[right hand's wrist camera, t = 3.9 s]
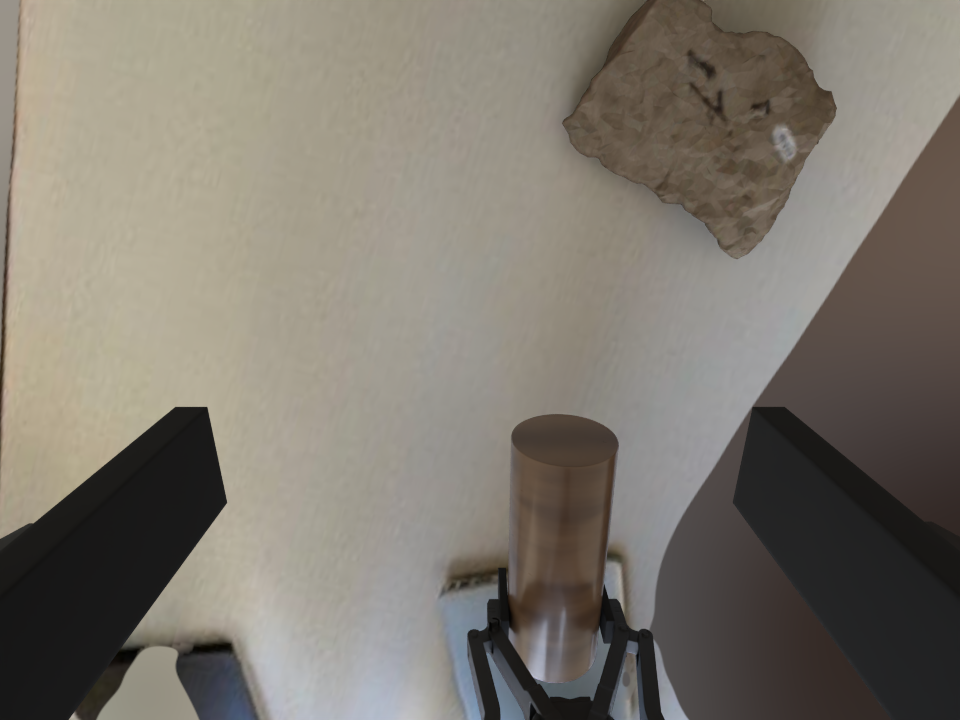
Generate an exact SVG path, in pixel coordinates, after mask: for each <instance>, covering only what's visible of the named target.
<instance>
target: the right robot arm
mask: <svg viewBox="0 0 960 720" xmlns="http://www.w3.org/2000/svg"><path fill="white" fill-rule="evenodd" d="M226 504H227V500H226V495H225V490H224V485H223V480H222V476H221V471H220V466H219V461H218V456H217V451H216V447H215V442H214V437H213V432H212V427H211V423H210V418H209V413H208V408H207V407H175V408H174V409H172V410H171V411H170V412H169V413H168V414H166V415H165V416H164V417H163V418H161V419H160V420H159V421H158V422H157V423H155V424H154V425H153V426H152V427H150V428H149V429H148V430H147V431H146V432H144V433H143V434H142V435H141V436H140V437H138V438H137V439H136V440H135V441H133V442H132V443H131V444H130V445H129V446H127V447H126V448H125V449H124V450H122V451H121V452H120V453H119V454H118V455H116V456H115V457H114V458H113V459H112V460H110V461H109V462H108V463H107V464H105V465H104V466H103V467H102V468H101V469H99V470H98V471H97V472H96V473H94V474H93V475H92V476H91V477H90V478H88V479H87V480H86V481H85V482H84V483H82V484H81V485H80V486H79V487H77V488H76V489H75V490H74V491H73V492H71V493H70V494H69V495H68V496H67V497H65V498H64V499H63V500H62V501H60V502H59V503H58V504H57V505H56V506H54V507H53V508H52V509H51V510H49V511H48V512H47V513H46V514H45V515H43V516H42V517H41V518H40V519H39V520H37V521H36V522H35V523H29V524H27V525H25V526H24V527H22V528H20V529H18V530H16V531H14V532H12V533H11V534H9V535H7V536H5V537H3V538H1V539H0V720H69V718H70V717H71V716H72V714H73V713H74V711H75V710H76V709H77V707H78V706H79V705H80V703H81V702H82V701H83V699H84V698H85V696H86V695H87V694H88V692H89V691H90V690H91V688H92V687H93V685H94V684H95V683H96V681H97V680H98V679H99V677H100V676H101V675H102V673H103V672H104V670H105V669H106V668H107V666H108V665H109V664H110V662H111V661H112V659H113V658H114V657H115V655H116V654H117V653H118V651H119V650H120V649H121V647H122V646H123V644H124V643H125V642H126V640H127V639H128V638H129V636H130V635H131V633H132V632H133V631H134V629H135V628H136V627H137V625H138V624H139V623H140V621H141V620H142V618H143V617H144V616H145V614H146V613H147V612H148V610H149V609H150V607H151V606H152V605H153V603H154V602H155V601H156V599H157V598H158V597H159V595H160V594H161V592H162V591H163V590H164V588H165V587H166V586H167V584H168V583H169V582H170V580H171V579H172V577H173V576H174V575H175V573H176V572H177V571H178V569H179V568H180V566H181V565H182V564H183V562H184V561H185V560H186V558H187V557H188V556H189V554H190V553H191V551H192V550H193V549H194V547H195V546H196V545H197V543H198V542H199V540H200V539H201V538H202V536H203V535H204V534H205V532H206V531H207V530H208V528H209V527H210V525H211V524H212V523H213V521H214V520H215V519H216V517H217V516H218V514H219V513H220V512H221V510H222V509H223V508H224V506H225V505H226ZM733 504H734V505H735V506H736V508H737V509H738V510H739V512H740V513H741V514H742V516H743V517H744V519H745V520H746V521H747V523H748V524H749V525H750V527H751V528H752V530H753V531H754V532H755V534H756V535H757V536H758V538H759V539H760V540H761V542H762V543H763V545H764V546H765V547H766V549H767V550H768V551H769V553H770V554H771V556H772V557H773V558H774V560H775V561H776V562H777V564H778V565H779V566H780V568H781V569H782V571H783V572H784V573H785V575H786V576H787V577H788V579H789V580H790V581H791V583H792V584H793V586H794V587H795V588H796V590H797V591H798V592H799V594H800V595H801V597H802V598H803V599H804V601H805V602H806V603H807V605H808V606H809V607H810V609H811V610H812V612H813V613H814V614H815V616H816V617H817V618H818V620H819V621H820V623H821V624H822V625H823V627H824V628H825V629H826V631H827V632H828V633H829V635H830V636H831V638H832V639H833V640H834V642H835V643H836V644H837V646H838V647H839V649H840V650H841V651H842V653H843V654H844V655H845V657H846V658H847V659H848V661H849V662H850V664H851V665H852V666H853V668H854V669H855V670H856V672H857V673H858V674H859V676H860V677H861V679H862V680H863V681H864V683H865V684H866V685H867V687H868V688H869V690H870V691H871V692H872V694H873V695H874V696H875V698H876V699H877V701H878V702H879V703H880V705H881V706H882V707H883V709H884V710H885V711H886V713H887V714H888V716H889V717H890V718H891V720H960V537H959V536H957V535H955V534H954V533H952V532H950V531H948V530H946V529H944V528H942V527H940V526H939V525H937V524H935V523H933V522H924V521H923V520H921V519H920V518H919V517H918V516H917V515H915V514H914V513H913V512H912V511H911V510H909V509H908V508H907V507H906V506H904V505H903V504H902V503H901V502H900V501H898V500H897V499H896V498H895V497H893V496H892V495H891V494H890V493H889V492H887V491H886V490H885V489H884V488H883V487H881V486H880V485H879V484H878V483H876V482H875V481H874V480H873V479H872V478H870V477H869V476H868V475H867V474H866V473H864V472H863V471H862V470H861V469H859V468H858V467H857V466H856V465H855V464H853V463H852V462H851V461H850V460H848V459H847V458H846V457H845V456H844V455H842V454H841V453H840V452H839V451H838V450H836V449H835V448H834V447H833V446H831V445H830V444H829V443H828V442H827V441H825V440H824V439H823V438H822V437H820V436H819V435H818V434H817V433H816V432H814V431H813V430H812V429H811V428H809V427H808V426H807V425H806V424H805V423H803V422H802V421H801V420H800V419H799V418H797V417H796V416H795V415H794V414H792V413H791V412H790V411H789V410H788V409H786V408H785V407H753V408H752V413H751V418H750V423H749V427H748V432H747V437H746V442H745V447H744V452H743V456H742V461H741V466H740V471H739V476H738V480H737V485H736V490H735V495H734V500H733Z"/></svg>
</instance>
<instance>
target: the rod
mask: <svg viewBox="0 0 960 720" xmlns="http://www.w3.org/2000/svg"><path fill="white" fill-rule="evenodd" d="M618 448H619V443H618V440H617V437H616V436H615V434H614V433H613V432H612V431H611V430H609V429H608V428H607V427H605V426H604V425H602V424H600V423H598V422H595V421H593V420H590V419H587V418H583V417H579V416H573V415H563V414H551V415H542V416H537V417H533V418H530V419H527V420H525V421H523V422H521V423H520V424H518V425H517V426H516V427H515V428H514V430H513V432H512V435H511V474H510V515H509V556H508V611H509V640H510V642H511V643H512V645H513V646H514V648H515V650H516V651H517V653H518V654H519V656H520V658H521V659H522V661H523V662H524V664H525V666H526V667H527V669H528V670H529V672H530V673H531V675H532V677H533V678H535V679H538V680H541V681H544V682H549V683H565V682H570V681H573V680H576V679H578V678H580V677H581V676H583V675H584V674H585V673H586V672H587V671H588V670H589V669H590V668H591V666H592V665H593V663H594V661H595V658H596V652H597V643H598V634H599V624H600V615H601V606H602V596H603V587H604V578H605V569H606V559H607V550H608V541H609V531H610V522H611V513H612V503H613V494H614V485H615V476H616V466H617V457H618Z"/></svg>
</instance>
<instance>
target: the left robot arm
mask: <svg viewBox="0 0 960 720" xmlns="http://www.w3.org/2000/svg"><path fill="white" fill-rule="evenodd" d="M599 626H600V630H601V634H602V638H603V641H604V643H611V645H610V648H609V652H608V655H607V659H606V662H605V665H604V669H603V672H602V676H601V679H600V683H599V684H598V687H597V690H596V693H595V697H594V700H593V701H591V700H590V697H578V698H574V699H566V698H562V697H550V698H549V697H548V695H547V694H546V692H545V691H544V689H543V687H542V686H541V685H540V684H537V683H536V681H535V680H534V678H533V677H532V675H531V673H530V672H529V670H528V669H527V667H526V666H525V664H524V662H523V661H522V659H521V658H520V656H519V654H518V653H517V651H516V650H515V648H514V646H513V645H512V643H511V642H510V640H509V611H508V595H507V580H506V568H498V599H489V601H488V603H487V627H486V629H484V630H483V631H478V630H476V629H472V630H470V631H469V632H468V634H467V648H468V660H469V665H470V669H471V674H472V679H473V683H474V688H475V692H476V697H477V701H478V706H479V710H480V715H481V720H500V706H499V702H498V698H497V694H496V690H495V686H494V682H493V678H492V675H491V671H490V667H489V663H488V659H487V655H486V654H487V653H490V655H491V657H492V658H493V660H494V662H495V664H496V665H497V667H498V669H499V671H500V672H501V674H502V676H503V678H504V679H505V681H506V683H507V685H508V686H509V688H510V690H511V692H512V693H513V695H514V697H515V699H516V700H517V702H518V704H519V706H520V707H521V709H522V711H523V713H524V717H525V720H614V719H613V718H612V717H611V712H612V708H613V704H614V701H615V697H616V693H617V689H618V685H619V681H620V677H621V673H622V669H623V665H624V661H625V658H626V656H627V652H629V653H633V654H636V669H637V683H638V697H639V712H640V720H665V719H664V717H663V715H662V713H661V707H660V698H659V689H658V680H657V670H656V661H655V652H654V643H653V635H652V633H651V632H650V631H649V630H647V629H641V630H639V632H638V631H635V630H632V629H630V628H629V626H628V625H627V624H626V621H625V617H624V614H623V611H622V608H621V605H620V603H619V601H618V600H617V599H608V595H607V592H606V588H605V585H604V587H603V596H602V606H601V615H600V624H599Z"/></svg>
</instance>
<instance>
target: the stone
mask: <svg viewBox="0 0 960 720" xmlns="http://www.w3.org/2000/svg"><path fill="white" fill-rule="evenodd" d="M836 109H837V108H836V105H835V103H834V99H833V95H832V92H831V91H825V90H823V89H822V88H820V87H819V86H818V84H817V82H816V81H815V79H814V75H813V71H812V70H811V69H810V68H809V66H808V64H807V62H806V60H805V58H804V57H803V56H802V55H801V53H800V52H799V51H798V50H797V49H796V48H795V47H794V46H792V45H791V44H790V43H789V42H787V41H786V40H784V39H783V38H781V37H778V36H773V35H771V34H769V33H768V32H757V31H752V32H748V33H745V34H743V33H734V32H728V33H727V32H723V31H722V30H721V29H720V28H719V27H717V26H716V25H715V24H714V23H712V10H711V8H710V7H709V6H708V5H706V4H705V3H704V2H702V1H701V0H647V1H646V3H645V4H644V5H643V6H642V7H641V8H640V9H639V10H638V11H637V12H636V13H635V14H633V15H632V16H631V18H630V19H629V21H628V22H627V24H626V25H625V26H624V28H623V29H622V31H621V33H620V34H619V36H618V37H617V38H616V39H615V41H614V43H613V45H612V46H611V48H610V49H609V53H608V56H607V60H606V62H605V64H604V66H603V68H602V69H601V71H600V72H599V73H598V74H597V75H596V76H595V77H594V78H593V79H592V80H591V83H590V86H589V88H588V89H587V91H586V92H585V93H584V95H583V96H582V98H581V101H580V103H579V104H578V106H577V107H576V109H575V111H574V112H573V114H572V115H571V116H569V117H567V118H566V119H564V121H563V123H562V124H563V126H564V127H565V129H566V130H567V132H568V134H569V138H570V142H571V144H572V145H573V146H574V147H575V149H576V150H577V151H578V152H580V153H581V154H583V155H585V156H587V157H596V158H599V159H600V162H601V164H602V165H603V166H604V167H606V168H607V169H609V170H610V171H612V172H613V173H615V174H617V175H620V176H623V177H625V178H627V179H628V180H630V181H632V182H634V183H637V184H638V183H642V184H644V185H646V186H647V187H648V188H649V189H651V190H652V191H653V192H654V193H655V194H656V195H657V196H658V197H659V199H660V200H661V201H662V202H663V203H669V204H681V205H682V206H683V208H684V209H685V210H686V211H687V212H689V213H691V214H692V215H693V216H694V217H696V218H697V219H699V220H701V221H702V222H704V223H705V225H706V227H707V228H708V230H709V231H710V233H712V234H713V235H714V237H715V238H717V240H718V244H719V247H720V248H721V249H722V250H723V251H724V252H726V253H727V254H728V255H730V256H731V257H733V258H736V259H738V258H740V257H742V256H744V255H746V254H748V253H749V252H750V251H751V250H752V249H753V248H754V247H755V246H756V245H757V244H758V243H759V242H761V241H762V239H763V237H764V236H765V234H767V233H768V232H769V230H770V228H771V227H772V225H773V223H774V222H775V220H776V217H777V215H778V213H779V212H780V211H781V209H782V208H783V207H784V206H785V203H786V201H787V200H788V198H789V194H790V191H791V188H792V186H793V185H794V183H795V181H796V178H797V176H798V175H799V173H800V171H801V170H802V168H803V165H804V162H805V160H806V158H807V157H808V155H809V154H810V152H811V151H812V149H813V148H814V146H815V145H816V144H818V142H819V140H820V138H821V137H822V136H823V134H824V132H825V131H826V130H827V128H828V127H829V126H830V124H831V123H832V121H833V119H834V117H835V114H836Z"/></svg>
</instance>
